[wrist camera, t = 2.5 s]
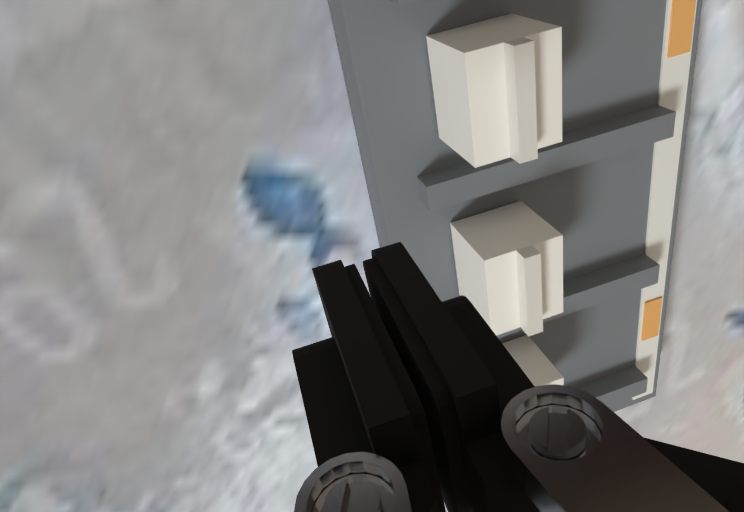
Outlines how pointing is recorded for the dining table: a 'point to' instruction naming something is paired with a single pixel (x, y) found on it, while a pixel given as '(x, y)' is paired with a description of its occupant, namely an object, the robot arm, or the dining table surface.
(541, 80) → the tab
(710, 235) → the dining table surface
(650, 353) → the switch board
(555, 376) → the tab
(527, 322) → the tab
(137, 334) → the dining table surface
